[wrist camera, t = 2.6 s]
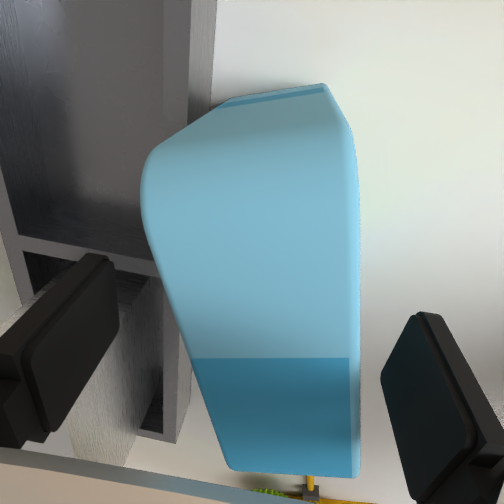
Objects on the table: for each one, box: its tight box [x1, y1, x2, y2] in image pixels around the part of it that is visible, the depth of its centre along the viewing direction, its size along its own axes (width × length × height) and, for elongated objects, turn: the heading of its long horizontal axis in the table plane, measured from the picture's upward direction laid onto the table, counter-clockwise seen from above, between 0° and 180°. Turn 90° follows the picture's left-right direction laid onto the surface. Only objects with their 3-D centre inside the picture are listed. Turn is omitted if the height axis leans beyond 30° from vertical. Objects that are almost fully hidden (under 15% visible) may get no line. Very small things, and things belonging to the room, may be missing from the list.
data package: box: [140, 83, 360, 478], centre depth 14 cm, size 12×4×12 cm, turn 9°
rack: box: [0, 0, 217, 467], centre depth 17 cm, size 11×33×11 cm, turn 172°
